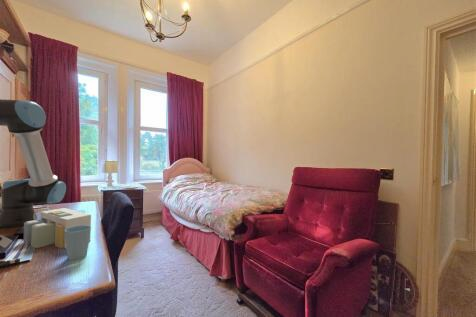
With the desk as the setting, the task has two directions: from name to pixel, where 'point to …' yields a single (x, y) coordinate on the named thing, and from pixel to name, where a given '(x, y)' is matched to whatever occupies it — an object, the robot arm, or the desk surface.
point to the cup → (77, 241)
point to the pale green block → (43, 234)
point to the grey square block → (30, 229)
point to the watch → (38, 211)
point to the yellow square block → (60, 236)
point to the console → (66, 219)
